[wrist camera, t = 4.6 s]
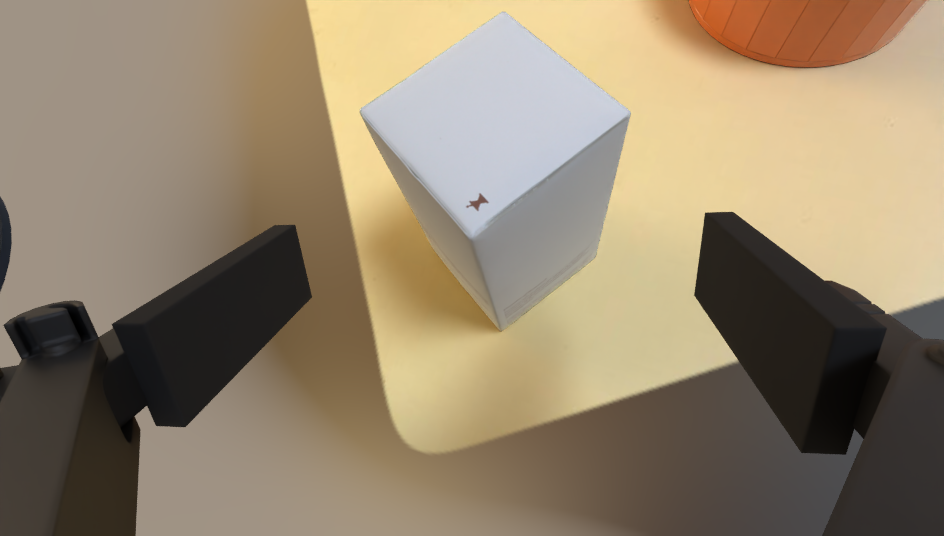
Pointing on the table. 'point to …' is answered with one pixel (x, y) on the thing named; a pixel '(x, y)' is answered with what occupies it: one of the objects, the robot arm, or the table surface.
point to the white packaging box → (503, 163)
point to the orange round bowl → (805, 28)
